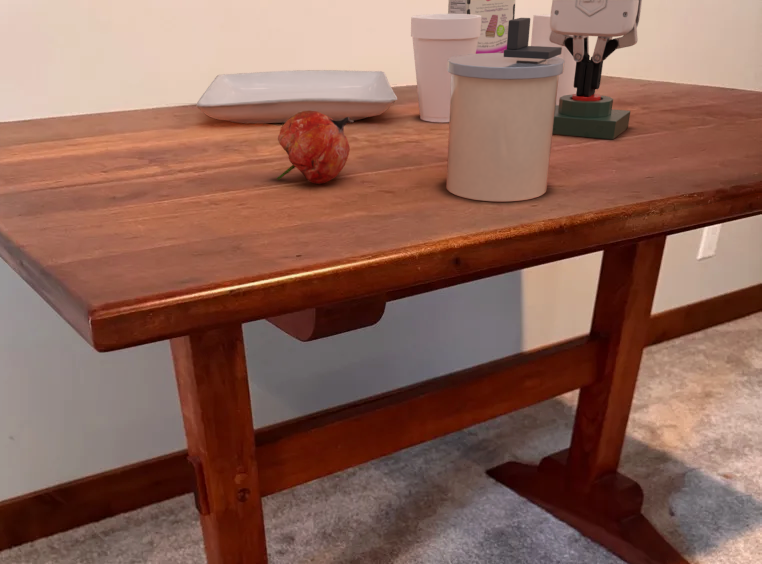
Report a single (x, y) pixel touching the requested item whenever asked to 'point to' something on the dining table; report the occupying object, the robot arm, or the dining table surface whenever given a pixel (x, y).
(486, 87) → the travel mug
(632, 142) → the dining table surface
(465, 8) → the candy bar box
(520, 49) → the slider
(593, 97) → the button
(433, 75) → the foam cup
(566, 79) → the white tapered box
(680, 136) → the dining table surface
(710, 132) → the dining table surface
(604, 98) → the box
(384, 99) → the square plate
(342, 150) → the pomegranate
